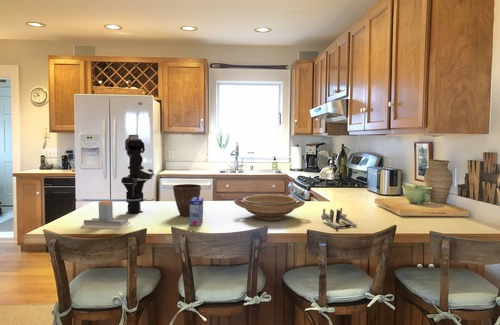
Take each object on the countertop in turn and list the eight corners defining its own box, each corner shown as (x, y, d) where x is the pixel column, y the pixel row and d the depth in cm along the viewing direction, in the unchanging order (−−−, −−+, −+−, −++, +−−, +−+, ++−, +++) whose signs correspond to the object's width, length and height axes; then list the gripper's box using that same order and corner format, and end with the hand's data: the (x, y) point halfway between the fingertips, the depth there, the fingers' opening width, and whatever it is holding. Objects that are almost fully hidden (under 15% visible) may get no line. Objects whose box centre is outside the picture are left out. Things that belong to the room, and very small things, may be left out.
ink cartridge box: (200, 226, 173) (200, 195, 172) (189, 225, 173) (189, 195, 172) (203, 221, 183) (203, 192, 182) (192, 221, 183) (192, 192, 182)
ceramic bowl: (231, 223, 180) (231, 202, 179) (237, 211, 208) (237, 193, 207) (306, 224, 177) (307, 203, 177) (302, 212, 206) (302, 194, 205)
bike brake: (317, 220, 183) (336, 236, 164) (319, 207, 182) (338, 222, 163) (342, 219, 187) (363, 234, 168) (343, 206, 185) (365, 221, 166)
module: (104, 219, 176) (103, 200, 176) (112, 220, 176) (112, 200, 175) (99, 222, 172) (98, 202, 171) (108, 222, 171) (107, 202, 171)
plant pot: (206, 215, 198) (206, 185, 197) (184, 219, 187) (184, 188, 186) (189, 211, 208) (189, 183, 207) (167, 215, 197) (167, 185, 196)
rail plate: (94, 222, 181) (93, 216, 181) (130, 223, 178) (130, 217, 178) (80, 227, 170) (80, 221, 170) (119, 228, 167) (119, 222, 167)
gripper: (143, 166, 170) (143, 199, 171) (158, 163, 189) (158, 193, 190) (120, 165, 172) (121, 198, 173) (137, 163, 190) (138, 192, 191)
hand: (136, 195), depth 182 cm, fingers open, 9 cm apart
